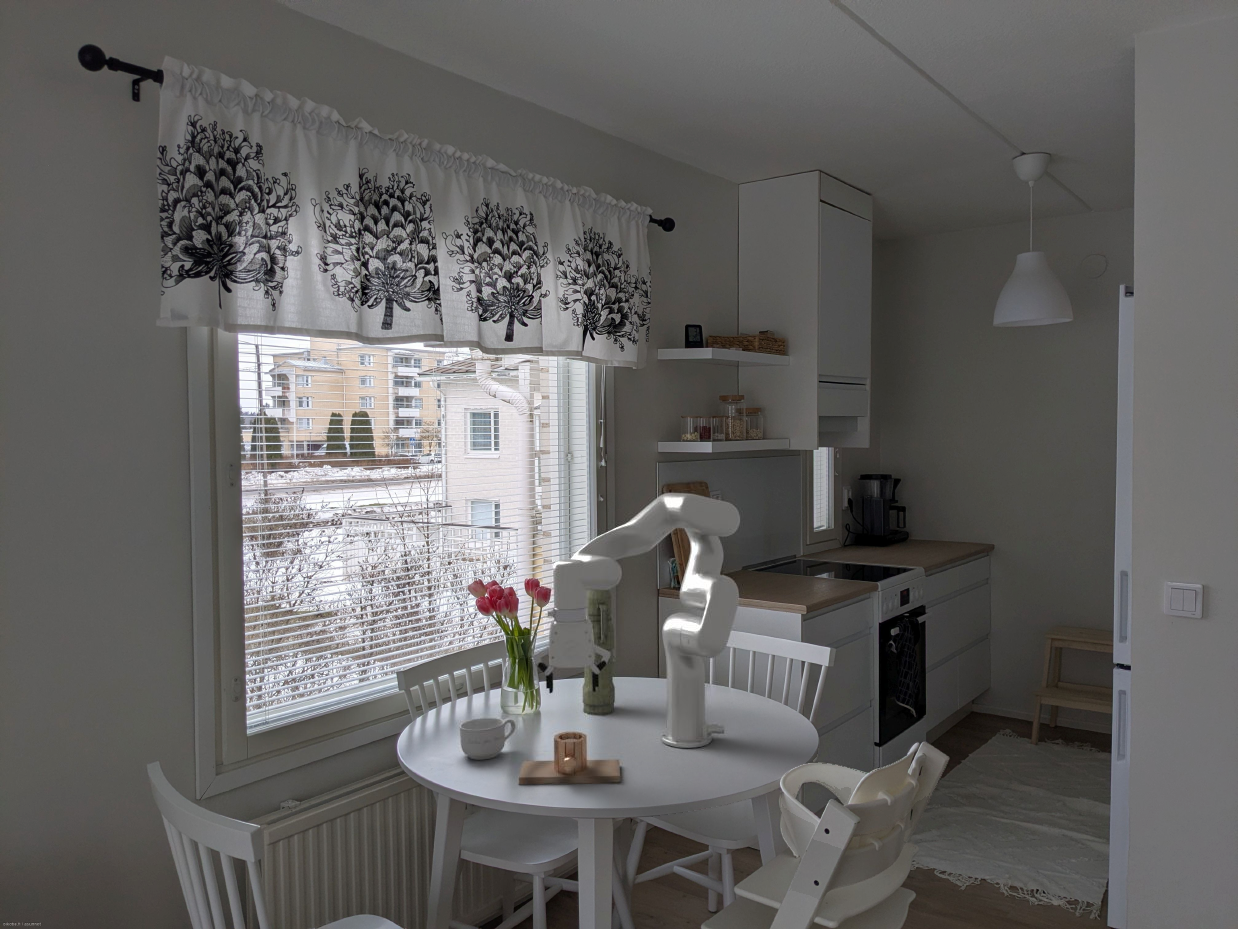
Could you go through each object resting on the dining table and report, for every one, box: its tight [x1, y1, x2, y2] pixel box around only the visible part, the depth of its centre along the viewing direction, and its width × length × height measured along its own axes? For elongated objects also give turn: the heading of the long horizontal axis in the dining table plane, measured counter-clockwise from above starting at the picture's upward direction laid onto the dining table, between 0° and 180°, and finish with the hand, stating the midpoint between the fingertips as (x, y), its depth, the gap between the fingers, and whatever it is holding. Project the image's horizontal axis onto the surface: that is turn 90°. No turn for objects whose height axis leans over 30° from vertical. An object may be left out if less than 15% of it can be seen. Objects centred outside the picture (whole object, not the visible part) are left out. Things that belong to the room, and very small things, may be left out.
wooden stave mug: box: [553, 731, 588, 774], centre depth 191 cm, size 7×11×7 cm, turn 1°
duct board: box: [518, 739, 621, 785], centre depth 192 cm, size 22×10×8 cm, turn 91°
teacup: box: [459, 716, 516, 761], centre depth 206 cm, size 14×11×8 cm
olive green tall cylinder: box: [582, 589, 616, 716], centre depth 240 cm, size 9×12×35 cm
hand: (572, 690), depth 193 cm, fingers open, 9 cm apart
